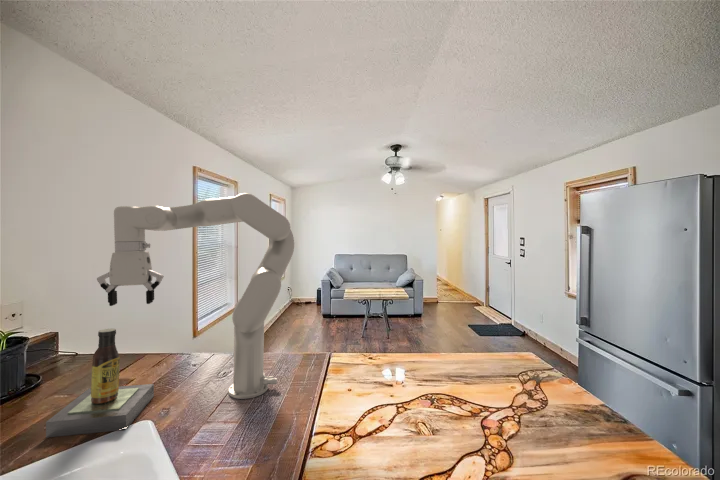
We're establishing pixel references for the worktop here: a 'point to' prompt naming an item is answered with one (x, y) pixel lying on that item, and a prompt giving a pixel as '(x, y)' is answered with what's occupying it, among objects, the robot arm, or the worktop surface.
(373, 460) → the worktop surface
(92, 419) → the stand
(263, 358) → the robot arm
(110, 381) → the sauce bottle
